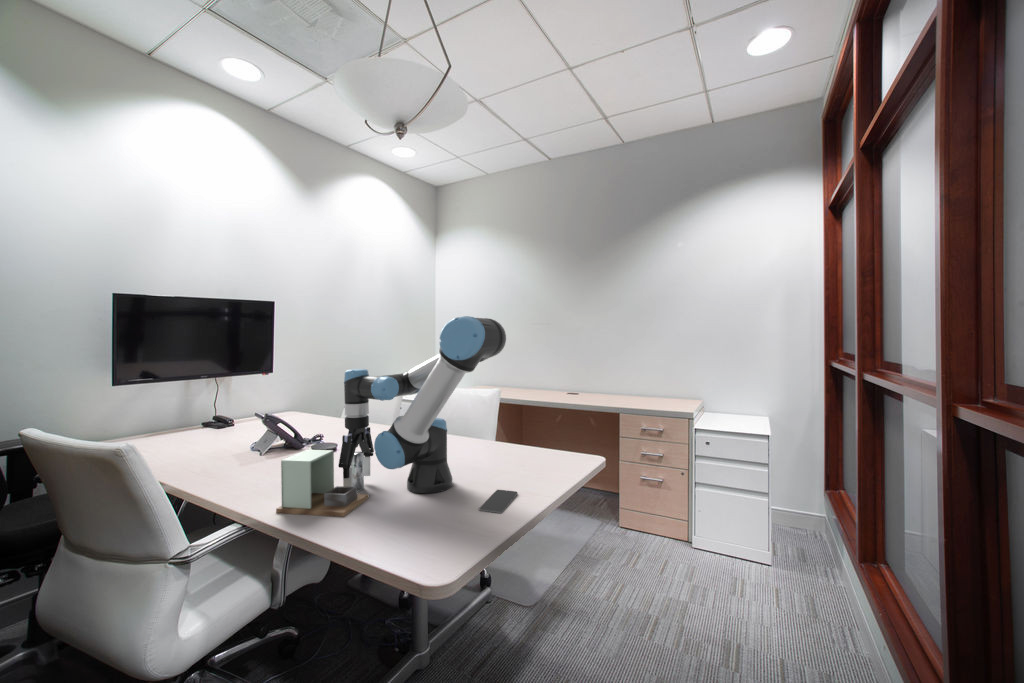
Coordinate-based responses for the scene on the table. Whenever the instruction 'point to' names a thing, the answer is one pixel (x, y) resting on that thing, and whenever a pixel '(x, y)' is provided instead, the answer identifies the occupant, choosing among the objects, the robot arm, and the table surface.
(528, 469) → the table surface
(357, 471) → the stub
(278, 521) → the table surface
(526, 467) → the table surface
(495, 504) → the smartphone
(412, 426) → the robot arm
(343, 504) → the board
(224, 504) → the table surface
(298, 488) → the cover
